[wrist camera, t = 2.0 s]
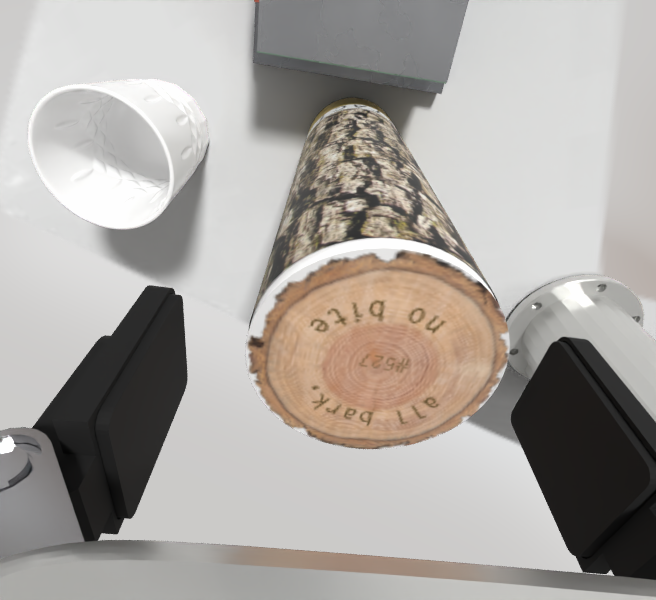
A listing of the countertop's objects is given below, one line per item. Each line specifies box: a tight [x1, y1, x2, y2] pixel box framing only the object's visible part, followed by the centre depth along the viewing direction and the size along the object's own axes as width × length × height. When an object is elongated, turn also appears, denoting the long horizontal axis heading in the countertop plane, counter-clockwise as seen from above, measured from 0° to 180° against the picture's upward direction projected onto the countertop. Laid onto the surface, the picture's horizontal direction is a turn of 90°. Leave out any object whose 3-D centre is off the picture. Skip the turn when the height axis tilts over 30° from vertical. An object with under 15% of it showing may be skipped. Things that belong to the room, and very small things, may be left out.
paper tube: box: [245, 98, 510, 449], centre depth 21 cm, size 7×7×25 cm
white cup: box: [27, 79, 209, 230], centre depth 27 cm, size 8×8×10 cm
